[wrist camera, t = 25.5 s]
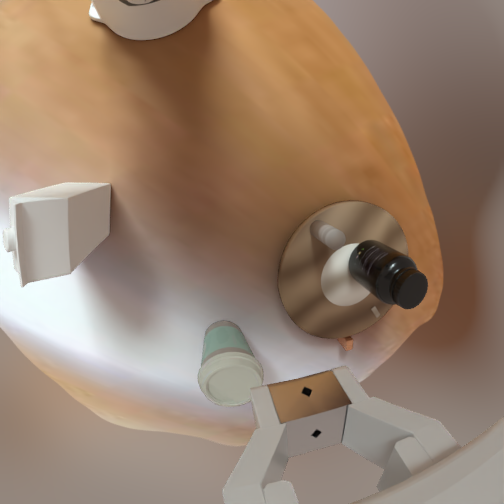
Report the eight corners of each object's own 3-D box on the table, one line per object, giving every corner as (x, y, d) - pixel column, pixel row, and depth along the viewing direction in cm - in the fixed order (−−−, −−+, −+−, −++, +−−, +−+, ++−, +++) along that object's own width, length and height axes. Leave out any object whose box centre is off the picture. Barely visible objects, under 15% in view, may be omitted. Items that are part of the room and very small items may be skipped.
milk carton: (111, 183, 37) (48, 205, 19) (110, 234, 39) (54, 291, 21) (65, 182, 36) (-15, 204, 18) (65, 232, 37) (-7, 283, 20)
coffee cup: (190, 318, 45) (190, 368, 33) (246, 308, 46) (262, 354, 35) (202, 362, 48) (206, 414, 36) (253, 352, 49) (269, 402, 37)
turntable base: (284, 219, 43) (291, 225, 39) (390, 206, 45) (403, 211, 42) (292, 350, 50) (298, 363, 46) (383, 326, 52) (393, 336, 49)
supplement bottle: (392, 253, 44) (441, 282, 33) (366, 288, 45) (410, 326, 34) (365, 229, 42) (416, 254, 31) (337, 267, 43) (381, 303, 32)
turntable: (246, 269, 42) (257, 292, 35) (363, 170, 41) (393, 174, 34) (327, 355, 50) (344, 382, 43) (419, 272, 48) (446, 289, 41)
